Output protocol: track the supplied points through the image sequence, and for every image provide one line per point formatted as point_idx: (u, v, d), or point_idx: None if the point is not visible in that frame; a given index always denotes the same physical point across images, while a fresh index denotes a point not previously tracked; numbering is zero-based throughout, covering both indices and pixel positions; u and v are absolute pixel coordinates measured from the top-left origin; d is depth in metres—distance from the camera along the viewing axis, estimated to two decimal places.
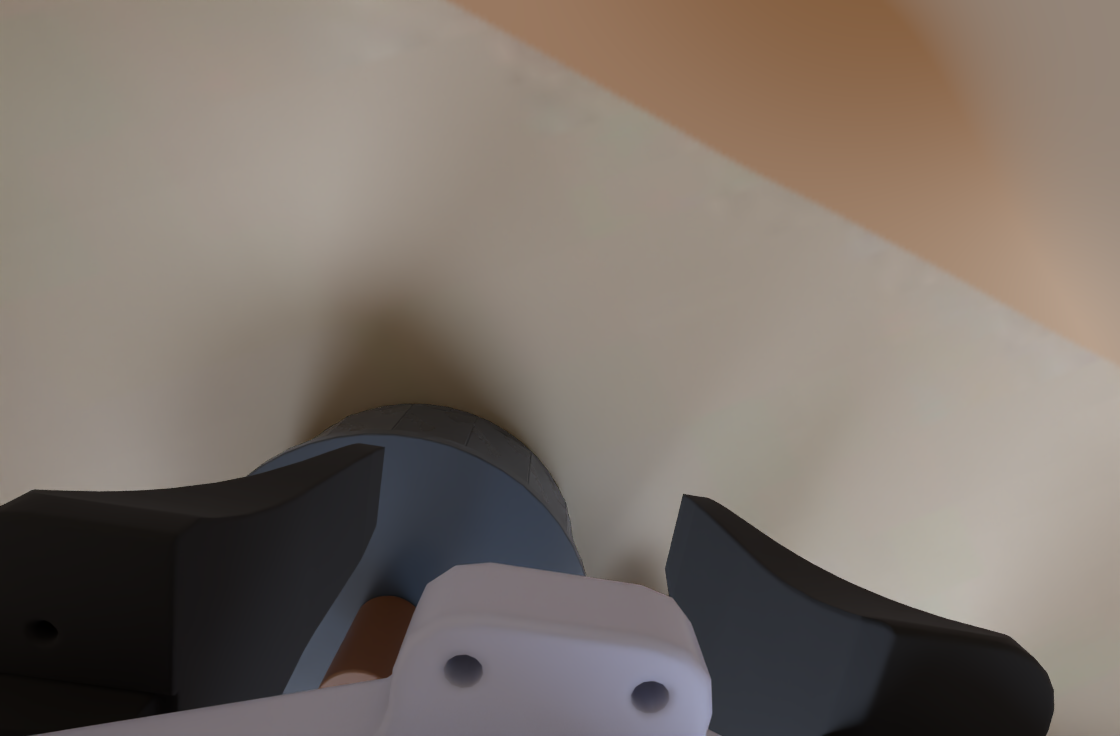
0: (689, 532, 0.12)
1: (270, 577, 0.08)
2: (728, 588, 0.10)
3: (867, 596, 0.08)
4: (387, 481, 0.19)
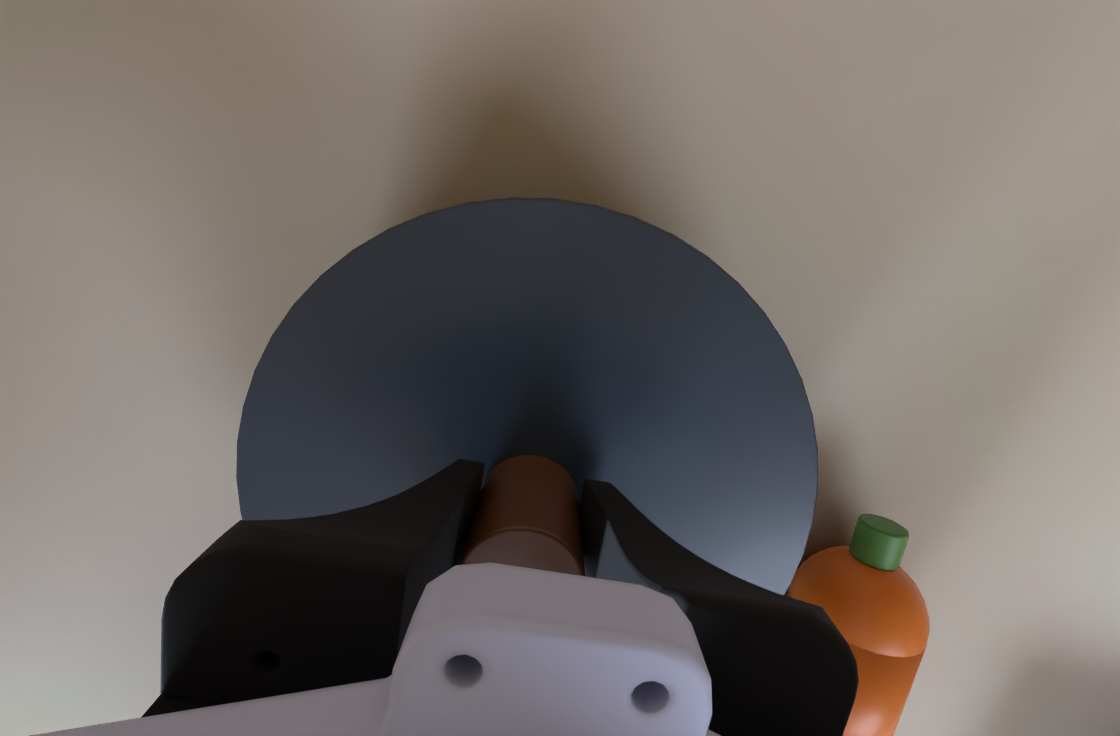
0: (584, 516, 0.12)
1: None
2: (600, 569, 0.10)
3: (711, 572, 0.08)
4: (539, 275, 0.13)
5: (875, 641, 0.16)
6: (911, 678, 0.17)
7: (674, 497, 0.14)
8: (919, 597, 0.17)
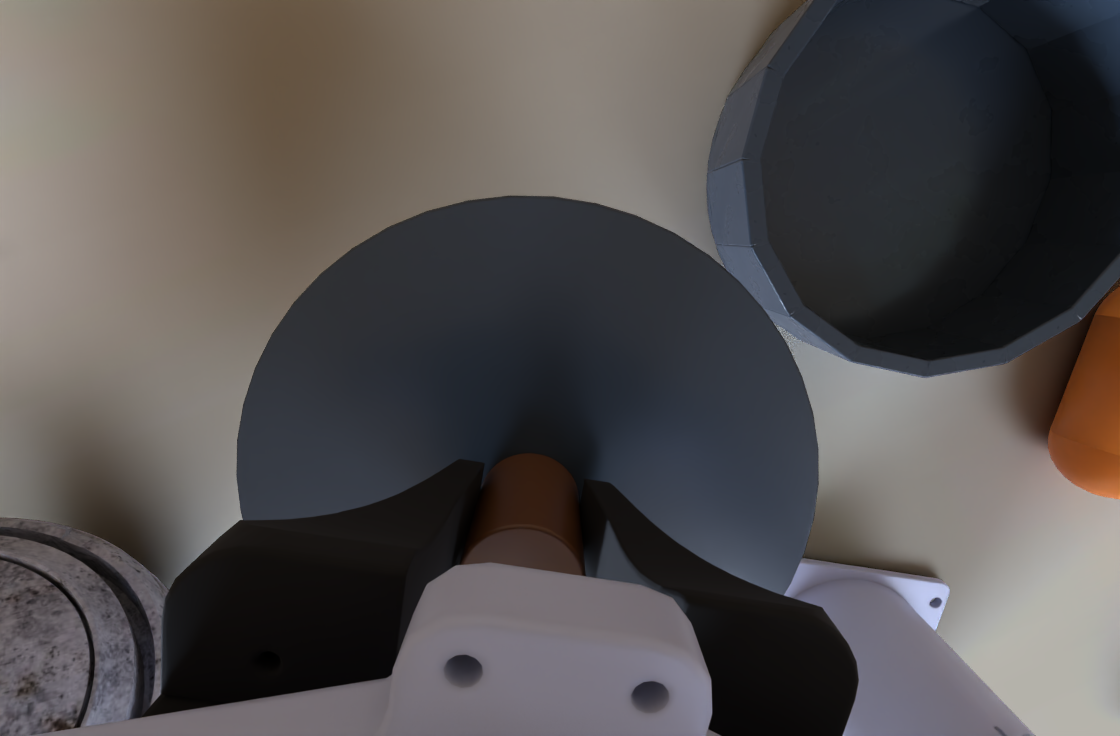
0: (584, 516, 0.12)
1: None
2: (600, 569, 0.10)
3: (711, 572, 0.08)
4: (540, 273, 0.13)
5: None
6: None
7: (674, 496, 0.14)
8: None
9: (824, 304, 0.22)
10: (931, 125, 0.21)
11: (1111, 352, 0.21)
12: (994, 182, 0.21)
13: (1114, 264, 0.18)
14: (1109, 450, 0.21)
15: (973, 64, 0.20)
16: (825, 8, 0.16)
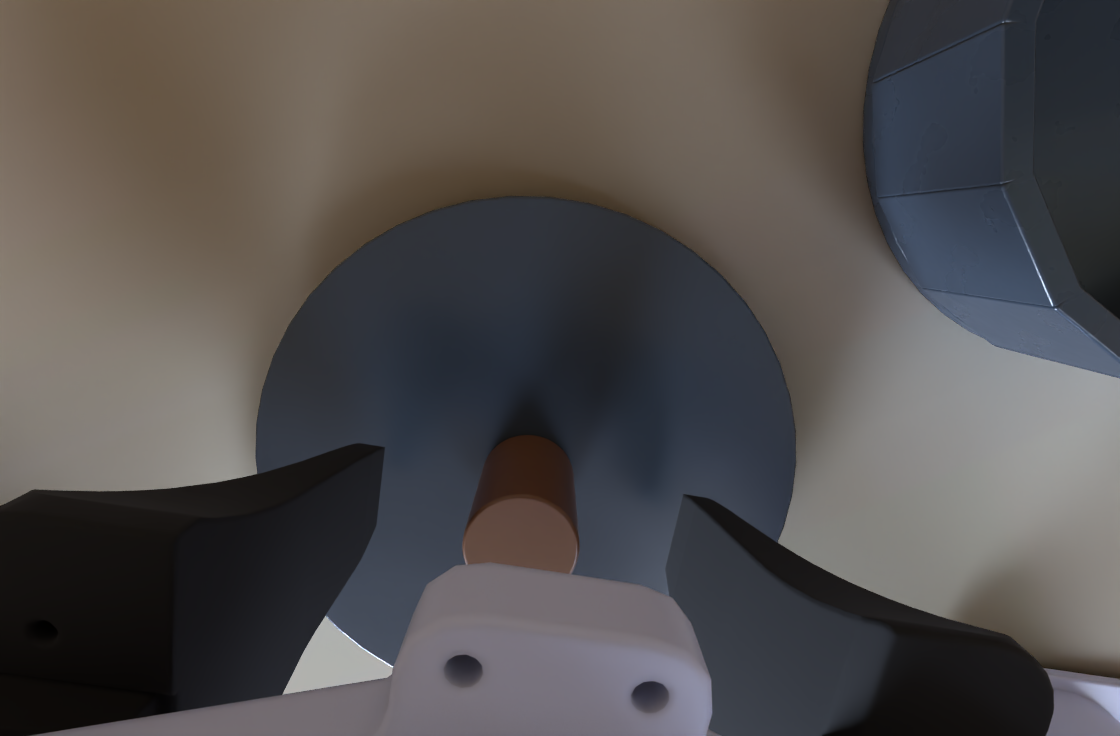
0: (689, 532, 0.12)
1: (270, 577, 0.08)
2: (728, 588, 0.10)
3: (867, 596, 0.08)
4: (537, 267, 0.14)
5: None
6: None
7: (663, 474, 0.15)
8: None
9: None
10: None
11: None
12: None
13: None
14: None
15: None
16: None
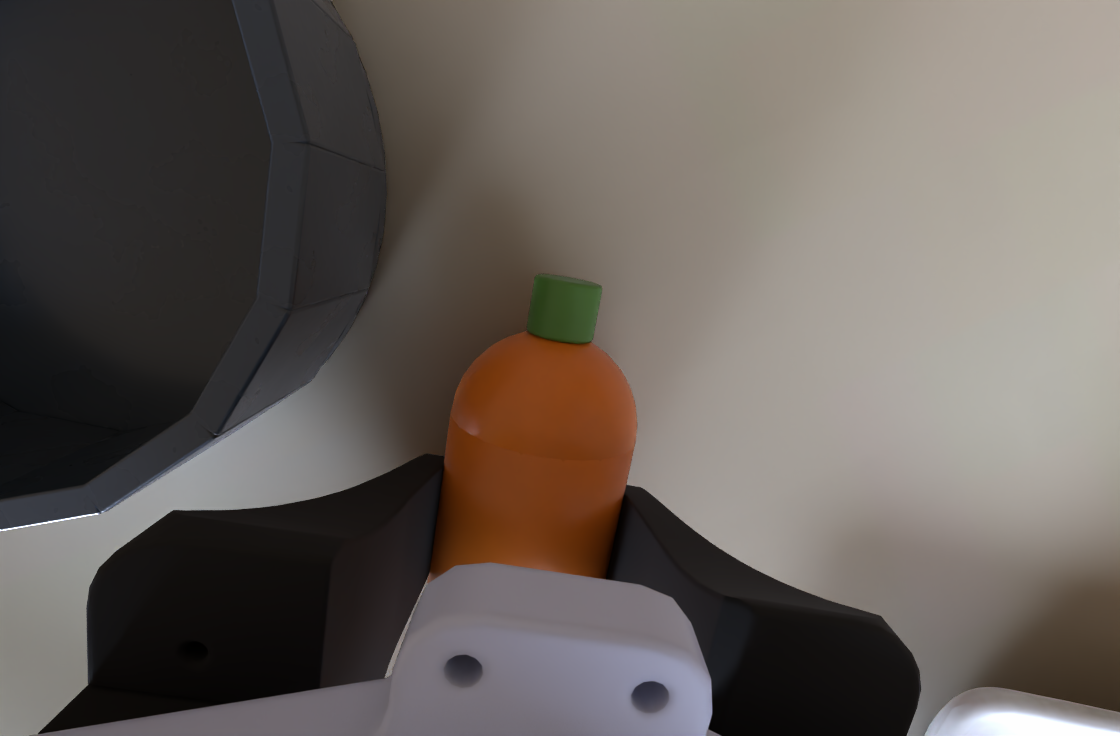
0: None
1: (377, 592, 0.08)
2: (641, 575, 0.10)
3: (761, 580, 0.08)
4: None
5: (518, 434, 0.10)
6: (592, 502, 0.11)
7: None
8: (609, 381, 0.11)
9: (38, 376, 0.13)
10: (127, 76, 0.12)
11: None
12: (264, 175, 0.12)
13: (240, 332, 0.09)
14: None
15: None
16: None
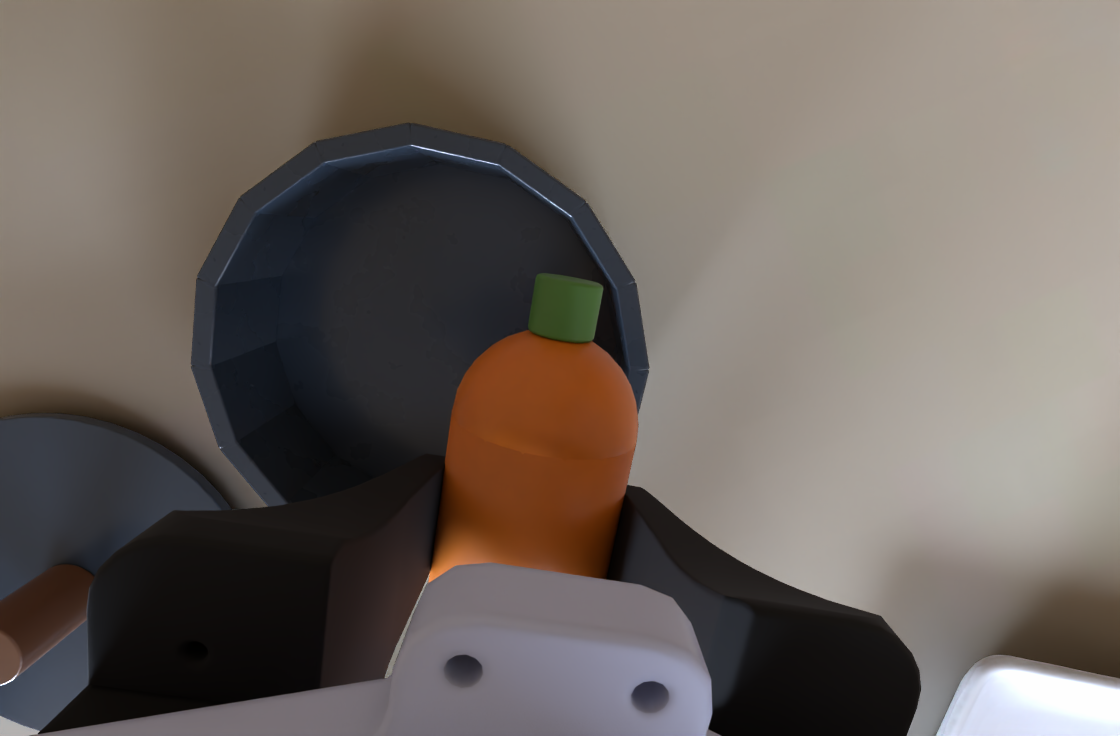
0: None
1: (377, 593, 0.08)
2: (641, 575, 0.10)
3: (760, 580, 0.08)
4: (50, 459, 0.21)
5: (519, 433, 0.10)
6: (593, 501, 0.11)
7: None
8: (610, 380, 0.11)
9: None
10: (483, 293, 0.20)
11: None
12: None
13: None
14: None
15: (515, 234, 0.20)
16: (243, 222, 0.16)
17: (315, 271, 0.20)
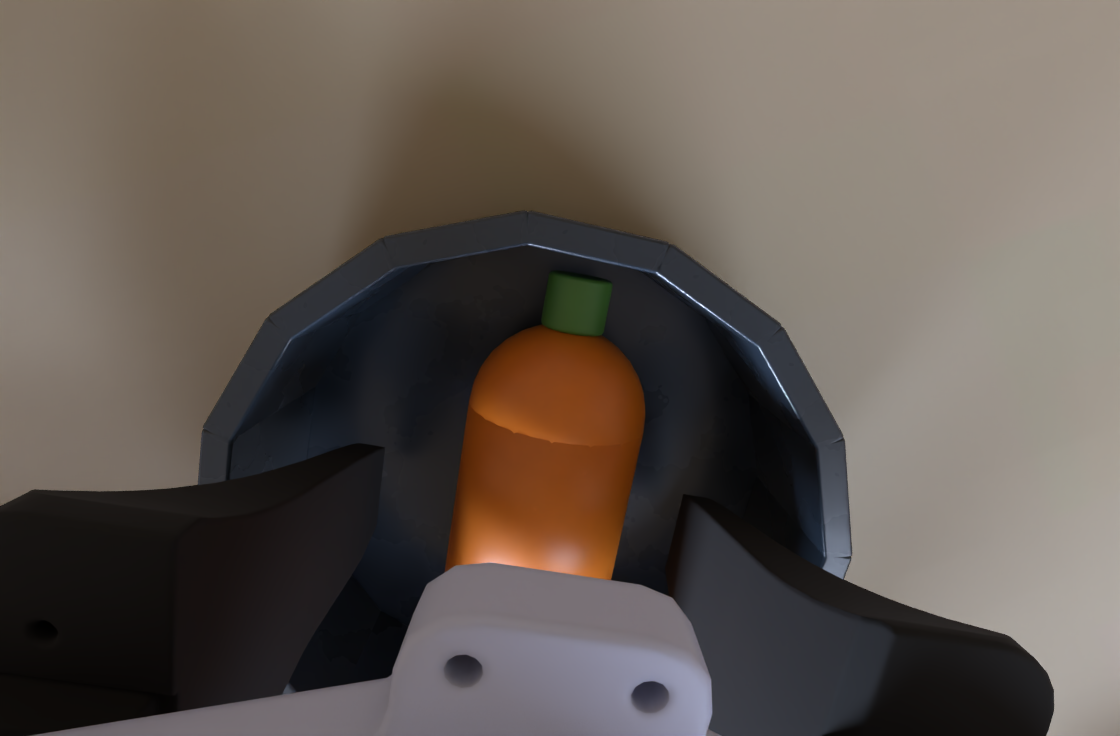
0: (689, 532, 0.12)
1: (270, 577, 0.08)
2: (728, 588, 0.10)
3: (867, 596, 0.08)
4: None
5: (548, 424, 0.11)
6: (613, 483, 0.12)
7: None
8: (625, 370, 0.12)
9: None
10: None
11: (462, 459, 0.12)
12: (680, 479, 0.15)
13: None
14: None
15: (632, 334, 0.15)
16: (272, 352, 0.10)
17: (360, 380, 0.15)
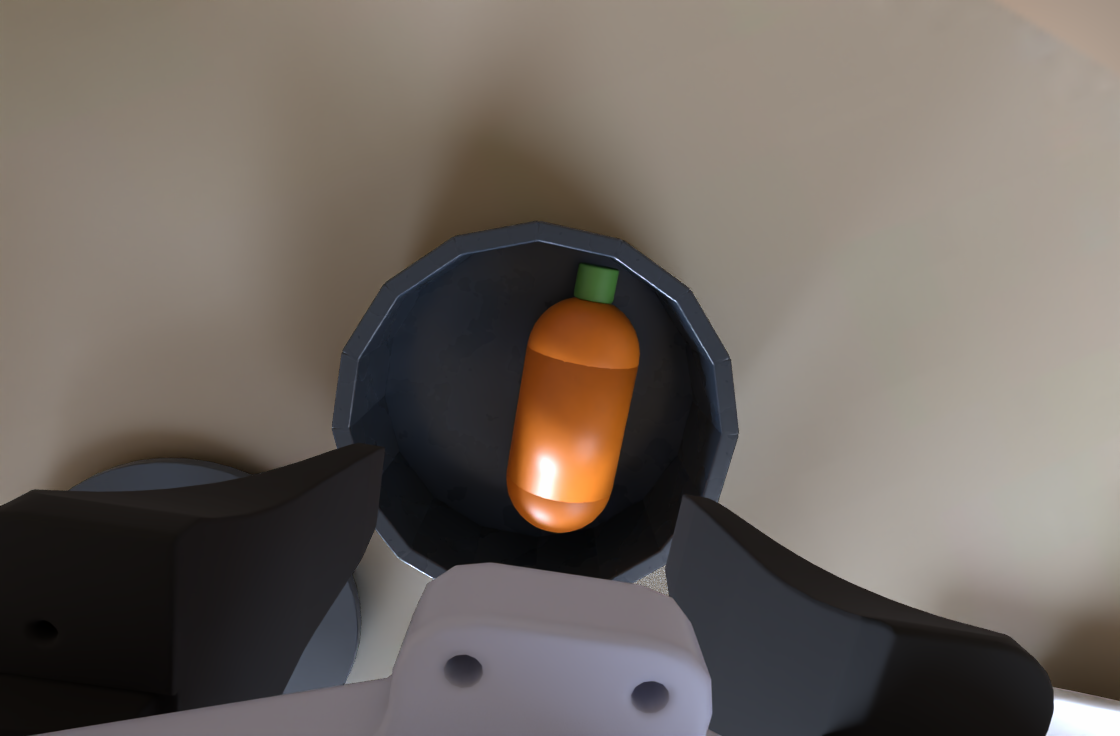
0: (689, 532, 0.12)
1: (271, 576, 0.08)
2: (728, 588, 0.10)
3: (867, 596, 0.08)
4: None
5: (608, 358, 0.18)
6: (632, 390, 0.20)
7: None
8: (630, 322, 0.20)
9: (496, 507, 0.24)
10: None
11: (537, 391, 0.19)
12: (641, 402, 0.23)
13: None
14: (545, 495, 0.19)
15: None
16: (386, 304, 0.18)
17: (423, 333, 0.22)
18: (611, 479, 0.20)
